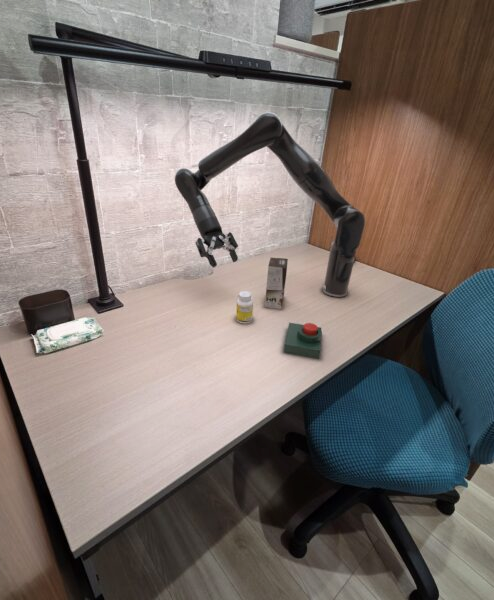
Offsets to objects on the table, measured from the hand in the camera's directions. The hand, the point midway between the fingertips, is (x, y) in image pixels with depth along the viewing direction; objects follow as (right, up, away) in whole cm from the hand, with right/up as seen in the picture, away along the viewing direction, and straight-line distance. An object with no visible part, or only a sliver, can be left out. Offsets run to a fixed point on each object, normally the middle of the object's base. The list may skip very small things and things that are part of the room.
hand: (225, 263), depth 106 cm
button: (+25, -22, -13) cm, 36 cm away
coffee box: (+18, -13, +11) cm, 25 cm away
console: (+24, -25, -11) cm, 36 cm away
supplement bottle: (+6, -19, 0) cm, 20 cm away
